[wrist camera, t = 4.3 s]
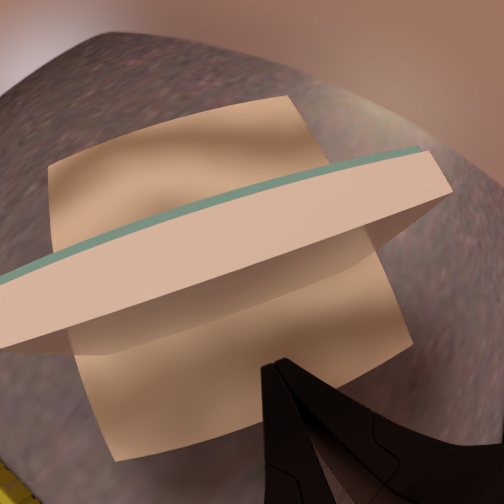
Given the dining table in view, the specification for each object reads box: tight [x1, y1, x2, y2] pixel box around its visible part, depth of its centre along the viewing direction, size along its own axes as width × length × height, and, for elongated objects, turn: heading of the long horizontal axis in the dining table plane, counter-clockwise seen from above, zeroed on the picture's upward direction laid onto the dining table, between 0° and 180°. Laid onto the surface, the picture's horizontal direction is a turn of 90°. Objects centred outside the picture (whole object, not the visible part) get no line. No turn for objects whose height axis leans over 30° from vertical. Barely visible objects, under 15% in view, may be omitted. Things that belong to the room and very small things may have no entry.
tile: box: [0, 146, 453, 356], centre depth 11 cm, size 2×14×9 cm, turn 111°
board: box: [48, 96, 413, 462], centre depth 16 cm, size 19×18×1 cm
